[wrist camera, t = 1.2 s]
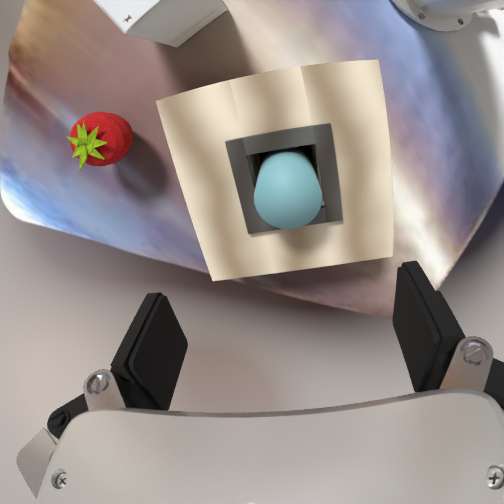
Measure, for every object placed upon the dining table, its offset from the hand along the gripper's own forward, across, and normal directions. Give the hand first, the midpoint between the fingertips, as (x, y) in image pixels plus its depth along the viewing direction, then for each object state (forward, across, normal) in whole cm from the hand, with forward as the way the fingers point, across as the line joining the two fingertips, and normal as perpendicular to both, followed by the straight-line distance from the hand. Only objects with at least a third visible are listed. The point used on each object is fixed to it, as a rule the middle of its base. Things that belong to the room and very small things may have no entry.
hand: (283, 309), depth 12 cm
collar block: (+25, 0, 0) cm, 25 cm away
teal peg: (+19, 0, 0) cm, 19 cm away
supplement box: (+25, +7, -20) cm, 32 cm away
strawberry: (+25, +18, -8) cm, 31 cm away
